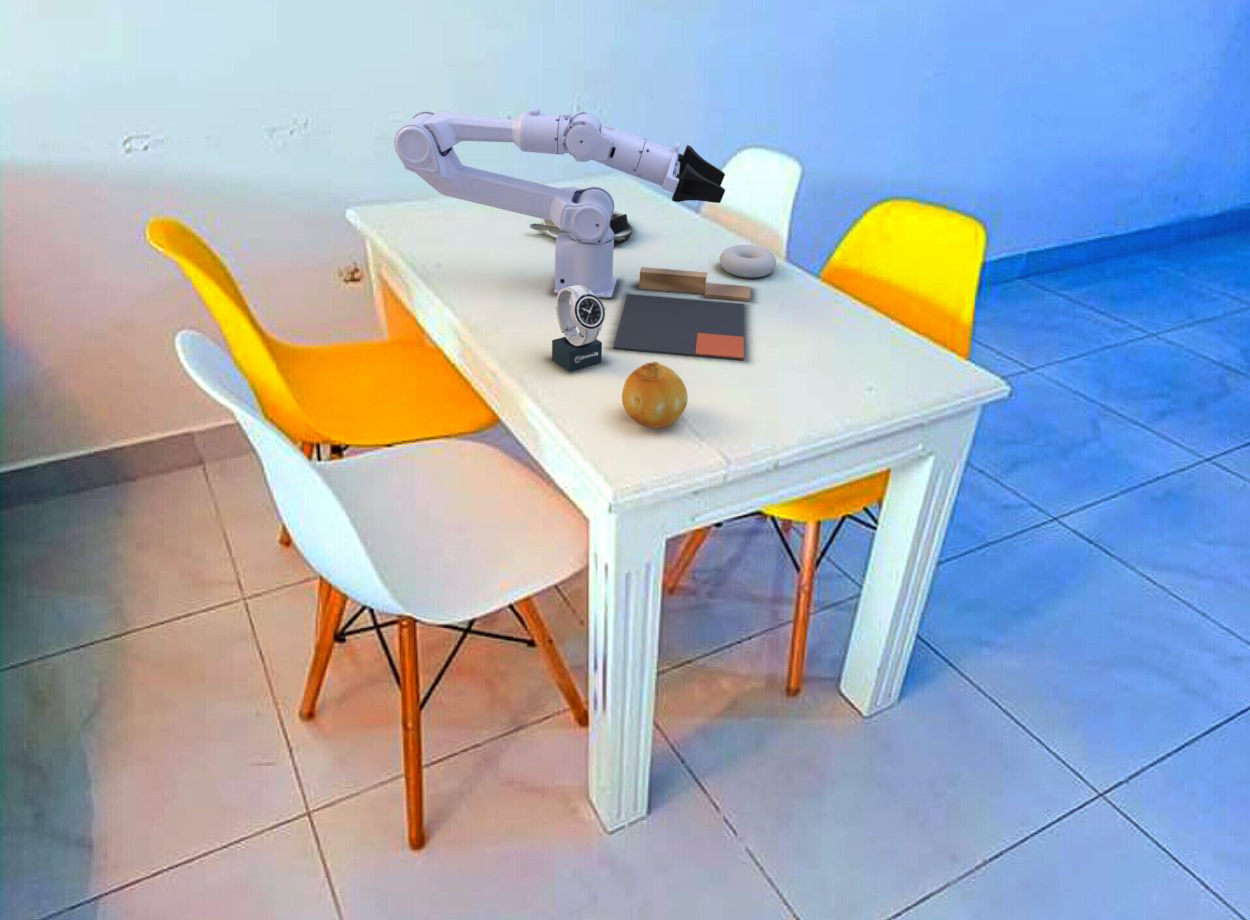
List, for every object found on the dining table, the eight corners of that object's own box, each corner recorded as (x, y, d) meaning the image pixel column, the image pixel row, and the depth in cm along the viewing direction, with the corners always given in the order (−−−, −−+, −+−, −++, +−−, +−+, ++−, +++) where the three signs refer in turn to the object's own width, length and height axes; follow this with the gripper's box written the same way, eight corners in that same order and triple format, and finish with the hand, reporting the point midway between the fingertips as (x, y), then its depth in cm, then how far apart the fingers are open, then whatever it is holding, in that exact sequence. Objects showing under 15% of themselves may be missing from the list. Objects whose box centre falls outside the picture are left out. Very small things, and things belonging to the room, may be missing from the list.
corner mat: (613, 348, 134) (613, 345, 133) (627, 295, 150) (628, 292, 150) (743, 360, 132) (743, 357, 132) (743, 305, 149) (744, 302, 149)
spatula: (749, 289, 155) (751, 272, 153) (749, 301, 151) (751, 284, 149) (641, 280, 156) (642, 263, 154) (638, 291, 152) (639, 274, 150)
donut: (715, 277, 159) (773, 283, 157) (717, 258, 157) (775, 264, 155) (721, 258, 167) (776, 263, 166) (723, 239, 165) (779, 244, 164)
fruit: (601, 408, 114) (636, 363, 110) (624, 385, 121) (658, 342, 116) (651, 450, 114) (688, 407, 110) (671, 425, 121) (707, 384, 117)
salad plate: (533, 250, 166) (532, 225, 163) (526, 218, 180) (525, 194, 178) (638, 248, 169) (639, 224, 166) (622, 217, 184) (623, 194, 181)
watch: (577, 377, 126) (578, 303, 120) (545, 355, 131) (545, 282, 125) (610, 367, 128) (612, 294, 122) (577, 346, 134) (578, 275, 128)
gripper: (645, 146, 132) (733, 178, 134) (651, 119, 144) (732, 149, 145) (629, 191, 136) (714, 222, 138) (637, 162, 148) (715, 190, 149)
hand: (722, 188), depth 142 cm, fingers open, 7 cm apart
